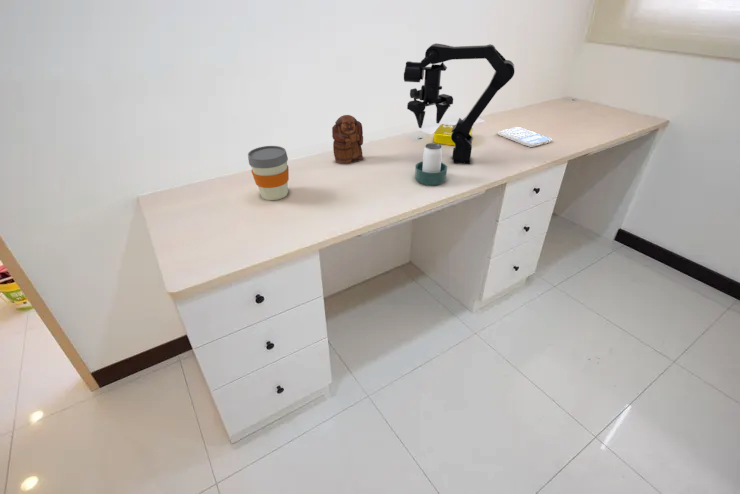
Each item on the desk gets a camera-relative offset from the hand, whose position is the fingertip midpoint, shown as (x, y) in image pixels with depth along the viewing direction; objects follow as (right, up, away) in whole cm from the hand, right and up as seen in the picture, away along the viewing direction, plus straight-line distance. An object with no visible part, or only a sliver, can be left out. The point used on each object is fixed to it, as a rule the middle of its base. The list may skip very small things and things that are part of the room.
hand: (428, 125), depth 146 cm
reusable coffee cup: (-56, -29, -17) cm, 66 cm away
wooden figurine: (-31, -12, +6) cm, 34 cm away
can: (-1, -22, -10) cm, 24 cm away
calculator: (+47, +2, +23) cm, 52 cm away
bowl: (-1, -23, -9) cm, 25 cm away
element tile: (+14, +1, +24) cm, 28 cm away
